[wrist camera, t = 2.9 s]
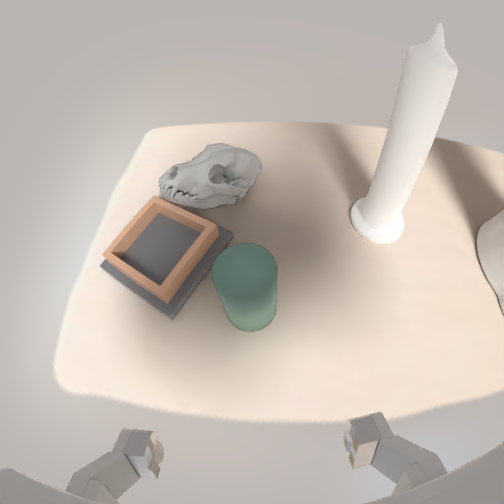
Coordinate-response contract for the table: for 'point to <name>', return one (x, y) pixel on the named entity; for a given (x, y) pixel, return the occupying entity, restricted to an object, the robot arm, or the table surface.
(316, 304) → the table surface
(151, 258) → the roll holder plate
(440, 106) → the candle
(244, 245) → the green cylinder
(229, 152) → the skull
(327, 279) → the table surface
